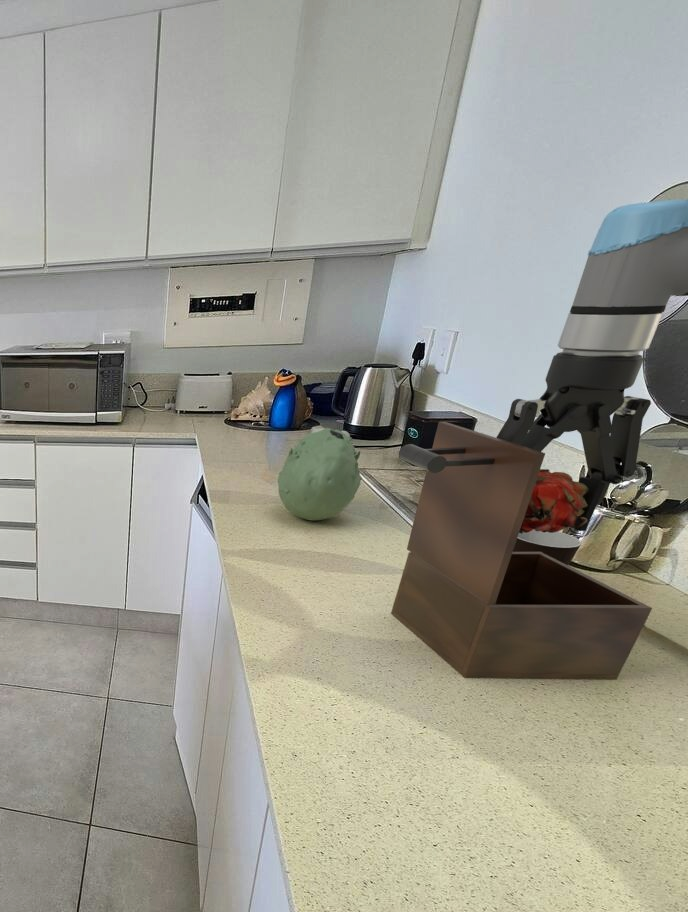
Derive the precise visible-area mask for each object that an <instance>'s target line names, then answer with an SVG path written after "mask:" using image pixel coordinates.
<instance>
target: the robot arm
mask: <svg viewBox="0 0 688 912" xmlns="http://www.w3.org/2000/svg"><path fill="white" fill-rule="evenodd" d="M674 296H675V297H688V199H685V198H681V199H666V200H657V201H656V200H655V201H646V202H637V203H629V204H625V205H621V206H618V207H615V208H613V209H612V210H611V211H610V212H608V213H607V214H606V215H605V216H604V217H603V220H602V222H601V224H600V227H599V229H598V230H597V233H596V235H595V238H594V240H593V242H592V245H591V247H590V249H589V250H588V252H587V258H586V261H585V265H584V268H583V271H582V274H581V278H580V280H579V284H578V287H577V289H576V293H575V296H574V298H573V302H572V305H571V307H570V310H569V313H568V315H567V318H566V320H565V323H564V326H563V328H562V331H561V335H560V337H559V340H558V343H557V347H558V348H559V349H561V350H562V351H559V352H557V353H556V354H555V355H553V357H552V359H551V363H550V365H549V368H548V370H547V374H546V376H545V383H546V389H545V391H544V392H543V393H542V395H541V396H540V397H539V398H538V399H536V398H535V399H529V400H527V399H523V398H515V399H514V400H513V401H512V402H511V406H510V409H509V412H508V413H509V414H508V417H507V419H506V420H505V423H504V424H503V426H502V427H501V428H500V431H499V432H498V433H497V435H496V437H495V438H498V439H502V440H505V441H508V442H511V443H514V444H517V445H521V446H524V447H527V448H530V449H533V450H537V451H540V452H542V451H544V449H545V448H546V447H547V446H548V445H549V444H550V443H551V442H552V441H553V440H555V439H558V438H560V437H561V436H562V435H563V434H564V433H572V432H575V431H576V432H578V433H579V434H580V437H581V442H582V447H583V452H584V457H585V463H586V467H587V473H588V476H589V477H587V476H579V479H578V481H577V482H580V483H583V484H584V485H586V486H587V488H588V490H589V491H588V492H587V493H586V494H585V495H583V496H582V497H583V498H584V499H585V502H586V504H587V505H588V506H587V507H585V508H582V510H583V511H584V513H582V514H581V515H580V516H579V517H584V518H586V519H587V520H588V521H587V522H586V523H585V524H583V525H582V526H580V527H570V528H572V529H574V530H576V531H578V532H586V531H587V529H588V527H589V524H590V522H591V520H592V517H593V516H594V513H595V510H596V508H597V506H600V505H601V503H602V502H603V501H604V499H605V497H606V494H607V492H608V489H609V487H610V485H611V484H612V485H619V484H621V482H622V481H623V480H624V477H625V478H631V477H632V476H634V474H635V473H636V466H637V462H638V461H637V460H638V453H639V447H640V440H641V434H642V427H643V419H644V418H645V416H646V415H647V412H648V410H649V409H650V406H651V404H652V401H651V399H647V398H641V397H636V396H630V395H625V391H626V390H627V389H629V388H632V387H633V385H634V384H635V382H636V379H637V377H638V375H639V372H640V370H641V368H642V365H643V363H644V360H645V358H644V357H643V355H641V354H640V352H643V351H647V350H649V348H650V346H651V344H652V341H653V338H654V336H655V333H656V332H657V329H658V326H659V324H660V321H661V318H662V316H663V315H664V312H665V311H666V308H667V305H668V303H669V300H670V299H671V297H674ZM612 415H613V416H612ZM611 416H612V419H611Z"/></svg>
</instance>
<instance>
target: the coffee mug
mask: <svg viewBox="0 0 688 912" xmlns="http://www.w3.org/2000/svg"><path fill="white" fill-rule="evenodd" d="M522 533H523V534H521V533H519V534H518V537H517V540H516V543H515V546H514V549H513V552H542V553H544V554H546V555H548V556H550V557H552V558H554V559H556V560H558V561H560V562H562V563H564V564H566V565H568V566H570V564H571V562H572V560H573V559H574V557H575V555H576V554H577V552H578V551H579V549H580V547H581V546H582V541H581V540H580V539H579V538H577V537H575V536H573V535H570V534H568V533H565V532H562V531H558V532H554V533H549V532H545V533H544V532H542V531H536V530H534V529H533V530H532V531H530V532H528V533H525V532H522Z"/></svg>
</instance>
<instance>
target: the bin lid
mask: <svg viewBox="0 0 688 912" xmlns="http://www.w3.org/2000/svg"><path fill="white" fill-rule="evenodd" d="M545 456H546V453H545V452H542V451H541V452H540V451H537V450H533V449H530V448H527V447H524V446H521V445H517V444H514V443H511V442H508V441H505V440H502V439H498V438H496V437H495V436H493V435H492V436H491V435H489V434H486V433H482V432H480V431H476V430H473V429H471V428H466V427H463V426H460V425H458V424H457V425H456V424H454V423H450V422H447V421H438V424H437V427H436V431H435V435H434V439H433V444H432V447H431V448H422V447H420V446H417V445H415V444H412V443H408V444H405V445H403V446H402V447H400V449H399V450H398V458H399V459H400V460H401V461H404V462H406V463H409V464H410V465H413V466H415V467H418V468H420V469H422V470H424V471H425V475H424V478H423V482H422V483H423V484H422V486H421V491H420V495H419V499H418V503H417V506H416V512H415V515H414V518H413V522H412V527H411V530H410V534H409V539H408V542H407V547H406V551H409V552H411V553H413V554H414V555H416V556H417V557H419V558H420V559H422V560H423V561H425V562H426V563H428V564H429V565H431V566H432V567H434V568H435V569H437V570H438V571H440V572H441V573H442V574H444V575H445V576H447V577H448V578H450V579H451V580H453V581H454V582H456V583H457V584H459V585H460V586H462V587H463V588H465V589H466V590H468V591H469V592H471V593H472V594H474V595H475V596H477V597H478V598H480V599H481V600H483V601H484V602H486V603H487V604H495V603H496V600H497V597H498V594H499V591H500V588H501V585H502V582H503V579H504V576H505V573H506V570H507V567H508V564H509V561H510V558H511V555H512V552H513V549H514V546H515V543H516V540H517V537H518V534H519V531H520V528H521V525H522V522H523V519H524V516H525V513H526V510H527V507H528V504H529V501H530V498H531V495H532V492H533V489H534V486H535V483H536V480H537V477H538V474H539V471H540V469H542V468H541V467H542V464H543V462H544V459H545Z"/></svg>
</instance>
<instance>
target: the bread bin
mask: <svg viewBox="0 0 688 912" xmlns="http://www.w3.org/2000/svg"><path fill="white" fill-rule="evenodd" d="M652 610H653V607H651V606H650V605H647V604H645V603H643V602H641V601H640V600H637V599H635V598H634V597H631V596H629V595H627V594H625V593H624V592H622V591H620V590H618V589H615V588H613V587H611V586H610V585H608V584H606V583H603V582H602V581H600V580H598V579H596V578H594V577H592V576H590V575H588V574H586V573H584V572H581V571H579V570H578V569H576V568H573V567H571V566H570V565H566V564H564V563H562V562H560V561H558V560H556V559H554V558H552V557H550V556H548V555H546V554H544V553H542V552H512V555H511V558H510V561H509V564H508V567H507V570H506V573H505V576H504V579H503V582H502V585H501V588H500V591H499V594H498V597H497V600H496V603H495V604H487V603H486V602H484V601H483V600H481V599H480V598H478V597H477V596H475V595H474V594H472V593H471V592H469V591H468V590H466V589H465V588H463V587H462V586H460V585H459V584H457V583H456V582H454V581H453V580H451V579H450V578H448V577H447V576H445V575H444V574H442V573H441V572H440V571H438V570H437V569H435V568H434V567H432V566H431V565H429V564H428V563H426V562H425V561H423V560H422V559H420V558H419V557H417V556H416V555H414V554H413V553H411V552H410V551H409V552H408V554H407V558H406V561H405V564H404V567H403V571H402V574H401V578H400V581H399V584H398V587H397V592H396V595H395V597H394V601H393V605H392V609H391V612H390V614H391V615H392V616H393V617H394V618H395V619H397V620H398V621H399V622H400V623H401V624H402V625H403V626H405V627H406V628H407V629H408V630H409V631H410V632H412V633H413V634H414V635H415V636H416V637H417V638H419V639H420V640H421V641H422V642H423V643H424V644H425V645H426V646H427V647H429V648H430V649H431V650H432V651H434V652H435V654H436V655H438V656H439V657H440V658H442V660H444V661H445V662H446V663H447V664H448V665H449V666H451V667H452V668H453V669H454V670H455V671H456V672H457V673H458V674H460V675H461V676H462V677H463V678H466V679H469V678H470V679H471V678H472V679H536V680H537V679H539V680H540V679H542V680H546V679H547V680H548V679H549V680H618V678H619V677H620V674H621V672H622V670H623V668H624V666H625V664H626V662H627V660H628V658H629V656H630V654H631V652H632V650H633V648H634V645H635V644H636V642H637V639H638V638H639V636H640V634H641V632H642V630H643V628H644V626H645V624H646V623H647V621H648V618H649V616H650V614H651V612H652Z"/></svg>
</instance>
